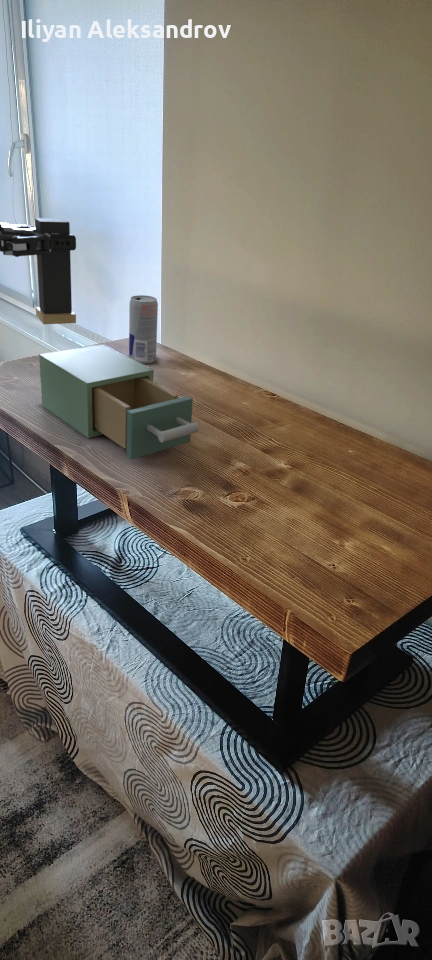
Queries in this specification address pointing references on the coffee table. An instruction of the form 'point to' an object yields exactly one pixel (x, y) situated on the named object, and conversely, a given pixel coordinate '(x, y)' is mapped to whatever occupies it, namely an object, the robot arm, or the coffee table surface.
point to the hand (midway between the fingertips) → (71, 240)
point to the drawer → (142, 416)
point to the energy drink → (143, 328)
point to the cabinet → (83, 381)
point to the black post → (54, 277)
